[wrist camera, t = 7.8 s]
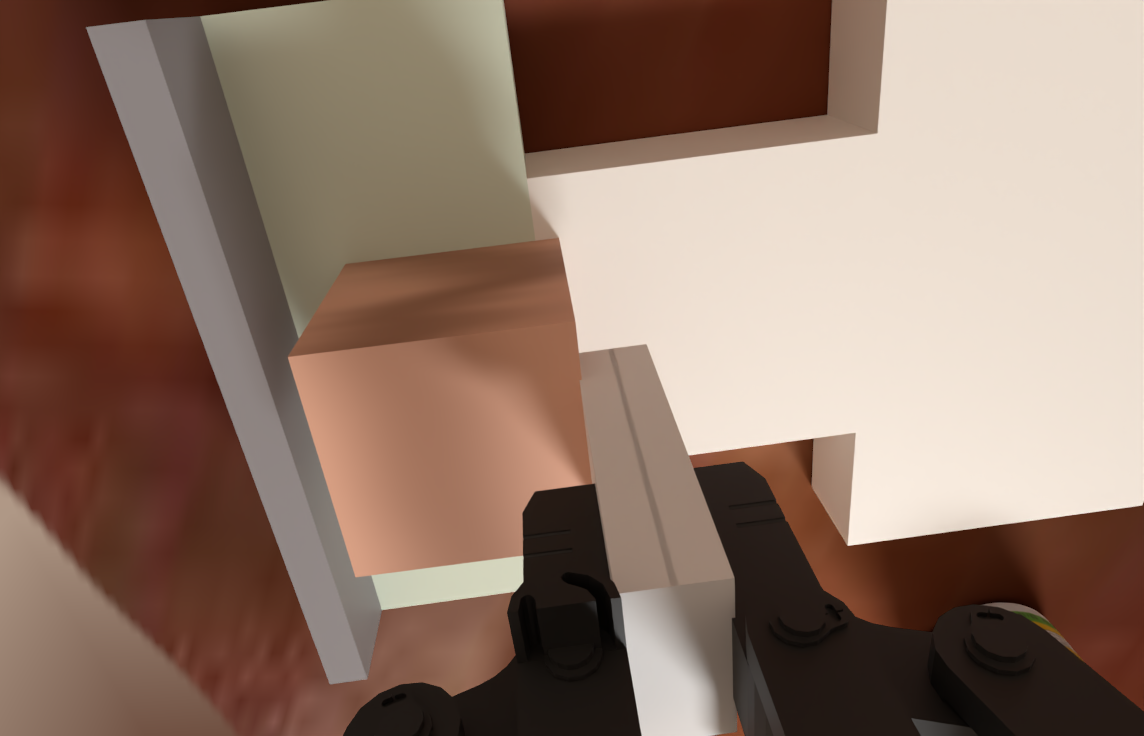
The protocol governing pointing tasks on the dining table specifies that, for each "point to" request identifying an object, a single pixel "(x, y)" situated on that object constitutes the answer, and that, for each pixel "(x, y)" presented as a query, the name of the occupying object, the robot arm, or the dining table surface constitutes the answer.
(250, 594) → the dining table surface
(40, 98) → the dining table surface
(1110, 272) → the board
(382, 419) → the block
